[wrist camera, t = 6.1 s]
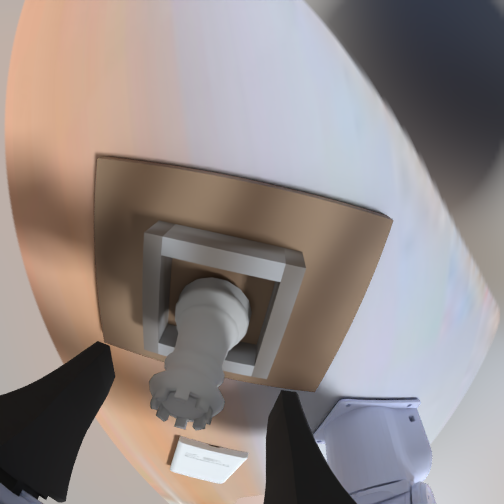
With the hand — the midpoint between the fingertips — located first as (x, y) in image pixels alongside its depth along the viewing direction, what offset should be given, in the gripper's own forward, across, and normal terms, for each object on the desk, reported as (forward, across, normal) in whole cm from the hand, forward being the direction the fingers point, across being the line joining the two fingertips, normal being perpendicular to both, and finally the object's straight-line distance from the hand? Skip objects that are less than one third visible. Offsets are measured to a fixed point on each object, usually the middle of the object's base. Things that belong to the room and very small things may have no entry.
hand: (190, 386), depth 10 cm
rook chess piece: (+7, 0, 0) cm, 7 cm away
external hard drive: (+9, -1, +28) cm, 29 cm away
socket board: (+8, 0, 0) cm, 8 cm away
